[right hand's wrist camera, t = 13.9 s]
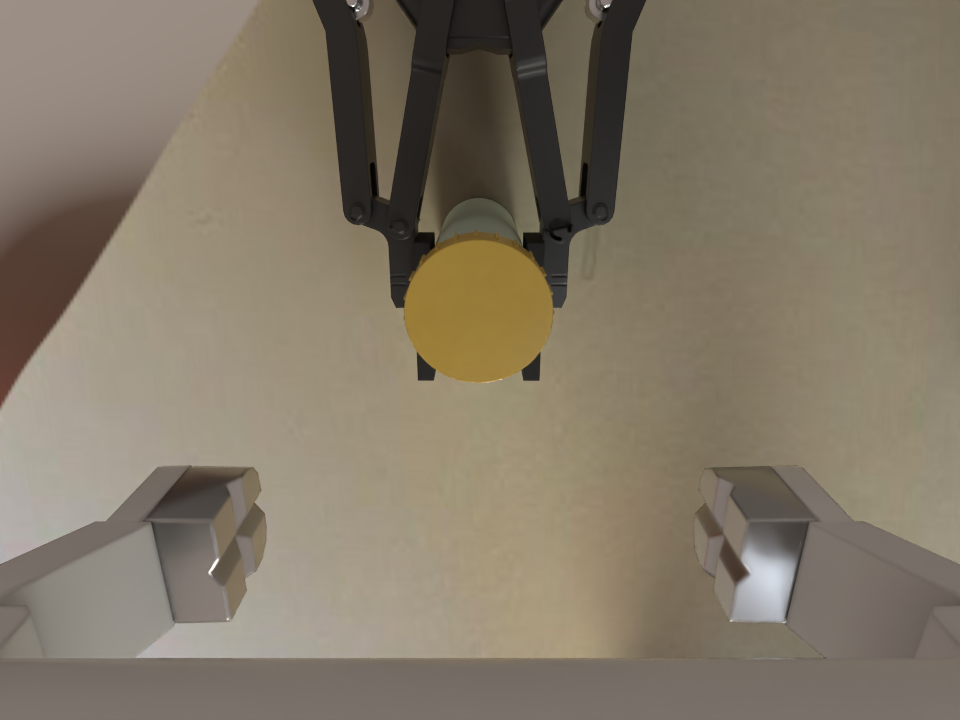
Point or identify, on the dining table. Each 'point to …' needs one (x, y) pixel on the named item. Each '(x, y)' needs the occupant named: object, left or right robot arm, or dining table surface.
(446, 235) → the green bottle
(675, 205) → the dining table surface
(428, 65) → the left robot arm
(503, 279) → the lid
